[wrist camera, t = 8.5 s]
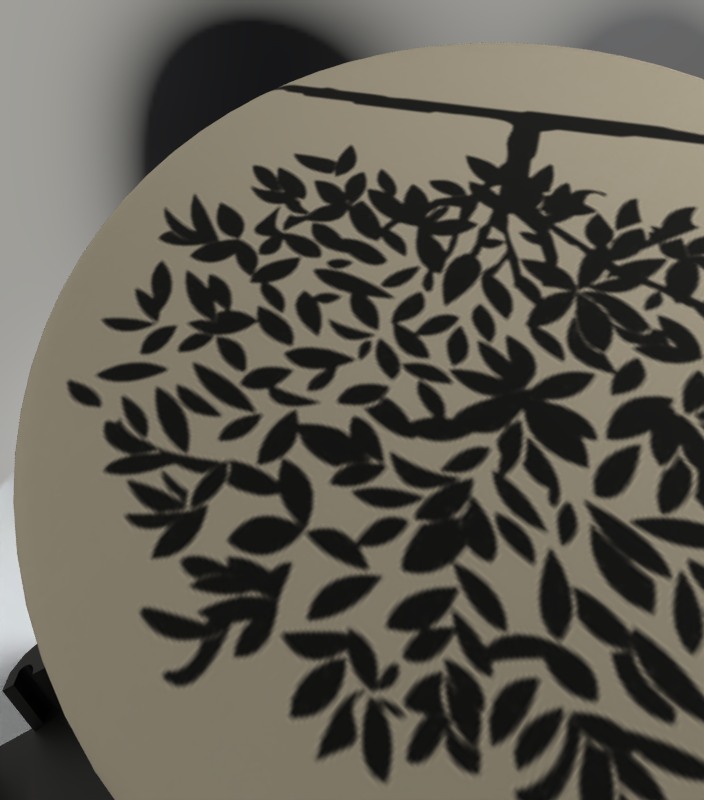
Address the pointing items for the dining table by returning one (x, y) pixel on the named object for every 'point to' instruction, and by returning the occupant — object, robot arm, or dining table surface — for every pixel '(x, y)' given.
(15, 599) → the dining table surface
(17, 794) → the robot arm
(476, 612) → the travel mug
